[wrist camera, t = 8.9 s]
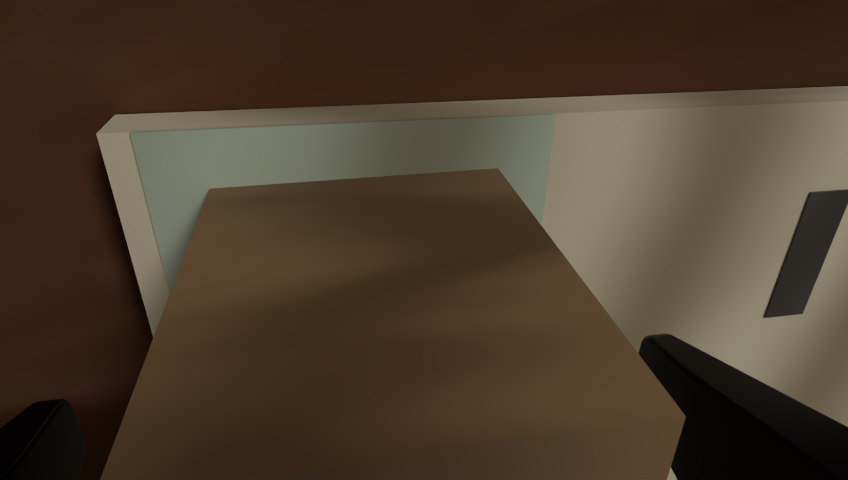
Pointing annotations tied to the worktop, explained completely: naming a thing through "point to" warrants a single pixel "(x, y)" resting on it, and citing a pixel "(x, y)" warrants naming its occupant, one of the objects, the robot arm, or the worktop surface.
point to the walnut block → (388, 345)
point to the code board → (570, 203)
